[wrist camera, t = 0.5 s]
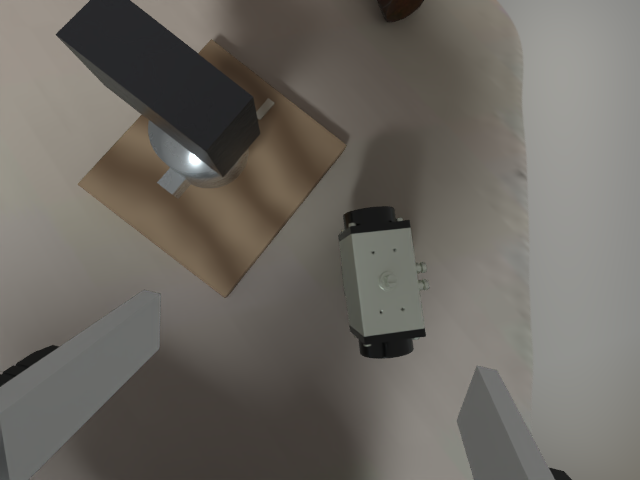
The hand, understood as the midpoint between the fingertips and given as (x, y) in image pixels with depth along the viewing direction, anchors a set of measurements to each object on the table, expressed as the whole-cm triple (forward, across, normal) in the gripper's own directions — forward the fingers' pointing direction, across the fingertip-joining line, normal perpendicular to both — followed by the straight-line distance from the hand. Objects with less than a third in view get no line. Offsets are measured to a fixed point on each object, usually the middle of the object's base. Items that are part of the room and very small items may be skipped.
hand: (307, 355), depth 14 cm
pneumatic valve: (+22, -3, +6) cm, 23 cm away
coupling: (+18, +13, -5) cm, 23 cm away
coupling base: (+23, +14, -3) cm, 27 cm away
